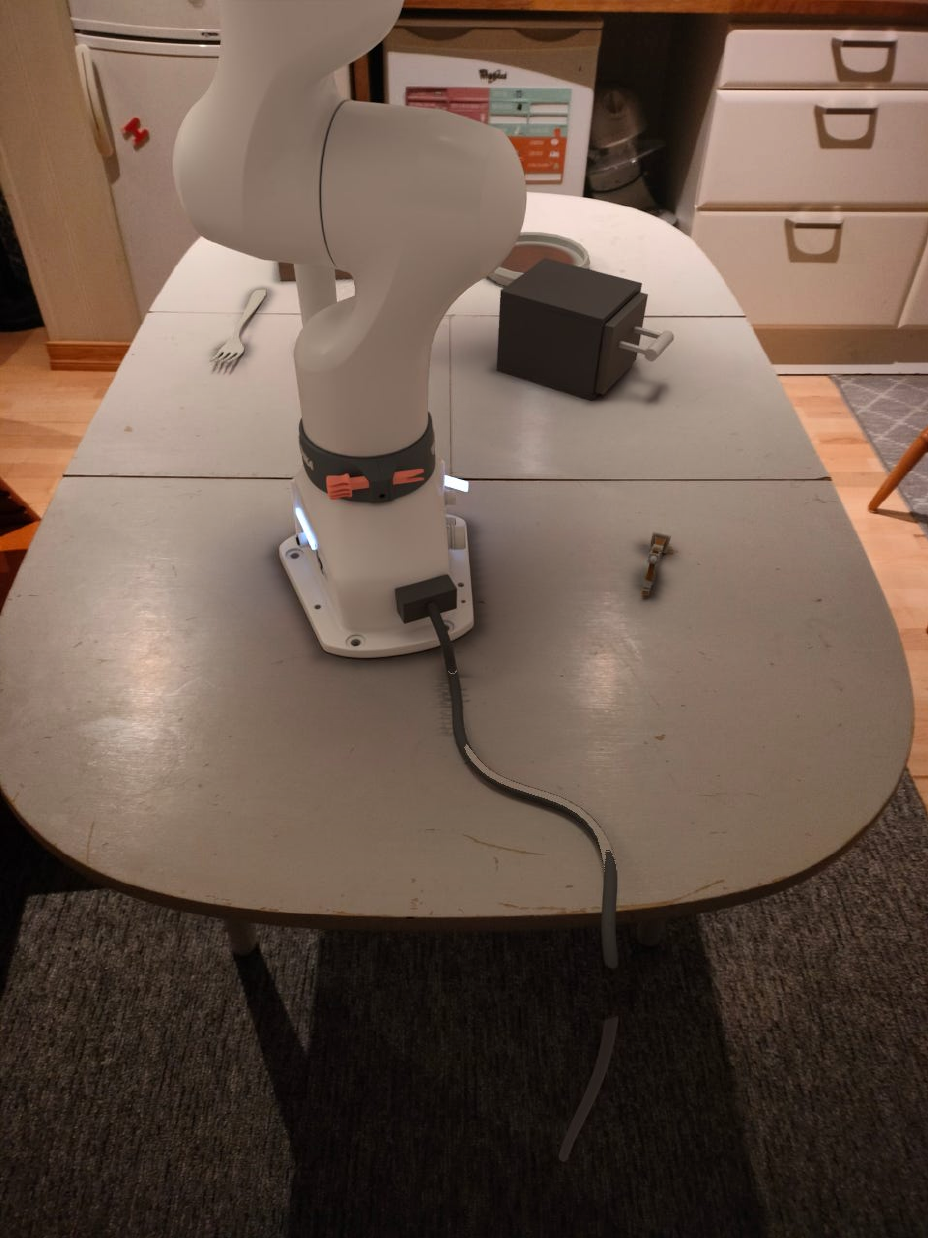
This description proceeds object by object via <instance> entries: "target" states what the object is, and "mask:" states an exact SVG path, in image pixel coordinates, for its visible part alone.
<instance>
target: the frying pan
mask: <svg viewBox="0 0 928 1238" xmlns="http://www.w3.org/2000/svg"><path fill="white" fill-rule="evenodd" d="M543 258H547V259H551V260H555V261H559V262H563V263H567V264H570V265H574V266H578V267H582V268H586V269H588V268H589V265H590V264H591V260H590V255H589V253H588V250H587V249H586V248H585V247H584V246H583V245H582V244H581V243H579V242H577V241H575V240H573V239H572V238H569V237H566V236H563V235H559V234H555V233H549V232H543V231H542V232H541V231H521V232H520V235H519V237H518V240H517V242H516V244H515V246H514V248H513V249H512V251H511V252H510V254H509V256H508V257H507V258H506V259H505V261H504V262H503V263H502V264H501V265H500V266H499V267H498V268H497V269H496V270H495V271H494V272H493V273H491V274H490V275H489V276H488V278H489V279H491V280H492V281H494V282H495V283H497V284H499V285H502V286H505V287H506V286H507V285H509V284H510V283H511V282H513V281H514V280H515V279H517V278H518V277H519V276H521V275H522V274H523V273H525V272H526V271H527V270H529V269H530V268H531V267H533V266H534V265H535V264H537V263H538V262H539V261H541V260H542V259H543Z"/></svg>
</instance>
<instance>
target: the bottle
mask: <svg viewBox="0 0 928 1238" xmlns="http://www.w3.org/2000/svg"><path fill="white" fill-rule="evenodd" d="M294 270H295V277H296V280H295V283H296V291H297V298H298V305H299V311H300V317H301V326H302V327H303V326H304V325H305V323H306V322H307V321H308V320H309V319H310V318H311V317H313V316H314V315H315V314H316V313H318V312H319V311H321V310H323V309H324V308H326V307H328V306H330V305H332V304H334V303H336V302H338V297H337V296H338V295H337V284H336V279H335V269H331V268H323V267H315V266H307V265H299V264H294Z"/></svg>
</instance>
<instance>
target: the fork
mask: <svg viewBox="0 0 928 1238" xmlns="http://www.w3.org/2000/svg"><path fill="white" fill-rule="evenodd" d="M266 296H267V291H266V289H256V290H254V292H252V294H251V296H250V298H249V300H248V303H247V305H246V307H245V309H244V312H243V314H242V316H241V318H240V320H239V322H238V323H237V325H236V327H235V329H234V332H233V334H232V336H231V338H229V340H228V341H227V342H225V344H224V345H222V347H221V348H219V350H218V351H217V353H216V355H214V356H213V357H212V358H210V359H209V363H210V362H213V361H214V362H215V363H217V362H220V363H221V364H223V363H224V362H226V364H228V363H232V362H233V361H234V360H236V359H238V358H239V357H240V356H241V355H242V354H243V353H244V352H245V348H244V345H243V343H242V342H241V339H240V332H241V329H242V327H243V326H244V325H245V324H246V322H247V321H248V320H249V318H250V317H251V316H252V315H253V314H254V313H255V311H256V310H257V309H258V307H260V304H261V303H263V301H264V299H265V298H266ZM221 354H222V355H221ZM220 355H221V356H220ZM226 356H227V357H226Z"/></svg>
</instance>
